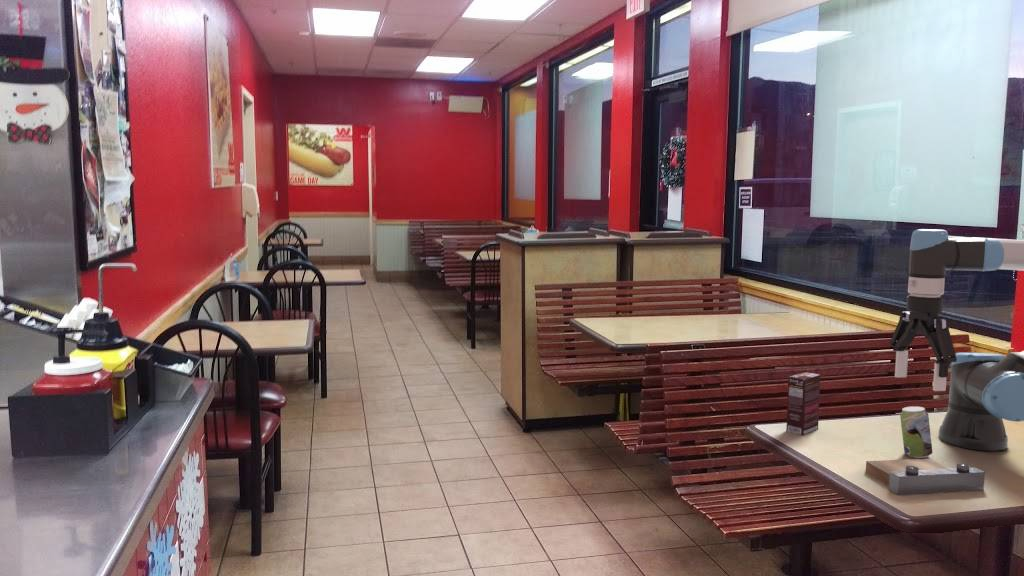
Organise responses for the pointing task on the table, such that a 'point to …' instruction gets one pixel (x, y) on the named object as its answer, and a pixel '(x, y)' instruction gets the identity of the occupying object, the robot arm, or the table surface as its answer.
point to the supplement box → (803, 403)
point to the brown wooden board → (899, 467)
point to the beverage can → (916, 432)
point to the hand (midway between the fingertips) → (919, 383)
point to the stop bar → (936, 480)
